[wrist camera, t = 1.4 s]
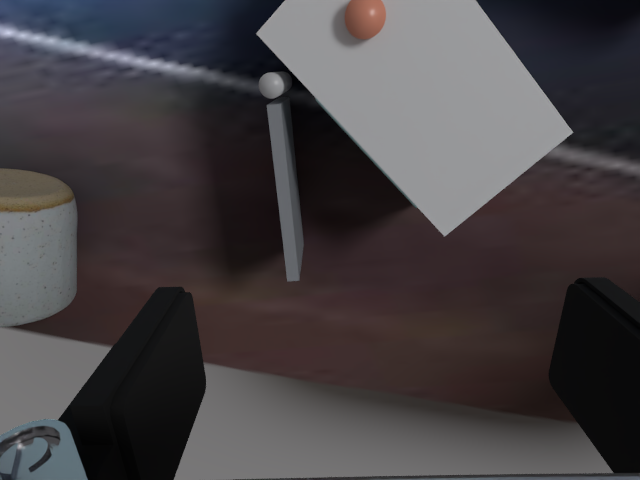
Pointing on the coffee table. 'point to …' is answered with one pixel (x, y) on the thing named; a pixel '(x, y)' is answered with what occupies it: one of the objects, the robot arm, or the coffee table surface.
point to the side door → (284, 168)
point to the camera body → (421, 95)
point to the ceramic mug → (36, 246)
